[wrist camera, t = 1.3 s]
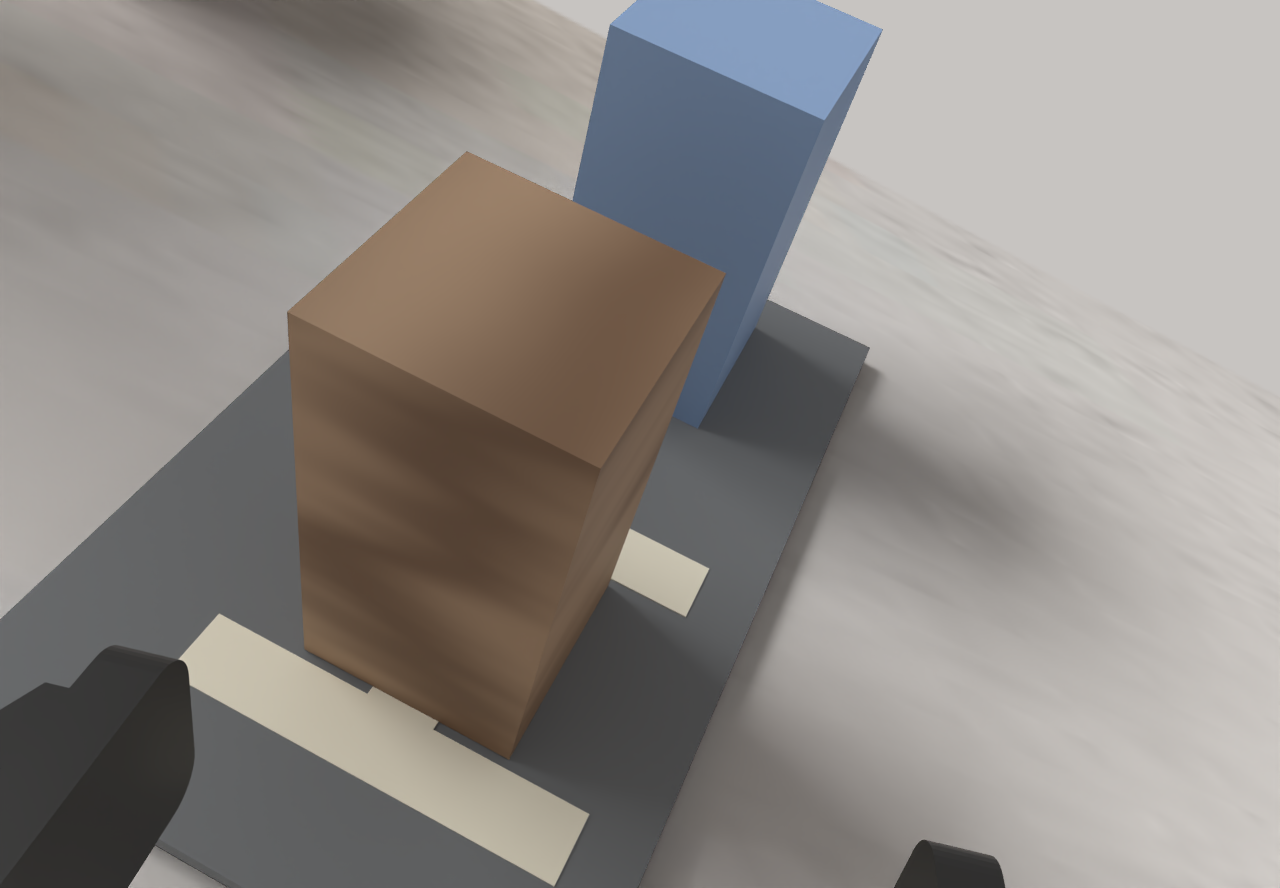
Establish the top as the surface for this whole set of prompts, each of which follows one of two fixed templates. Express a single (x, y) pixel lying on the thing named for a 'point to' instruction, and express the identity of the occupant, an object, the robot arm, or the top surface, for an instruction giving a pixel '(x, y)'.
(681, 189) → the blue block
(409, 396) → the walnut block
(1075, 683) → the top surface
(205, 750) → the letter mat
